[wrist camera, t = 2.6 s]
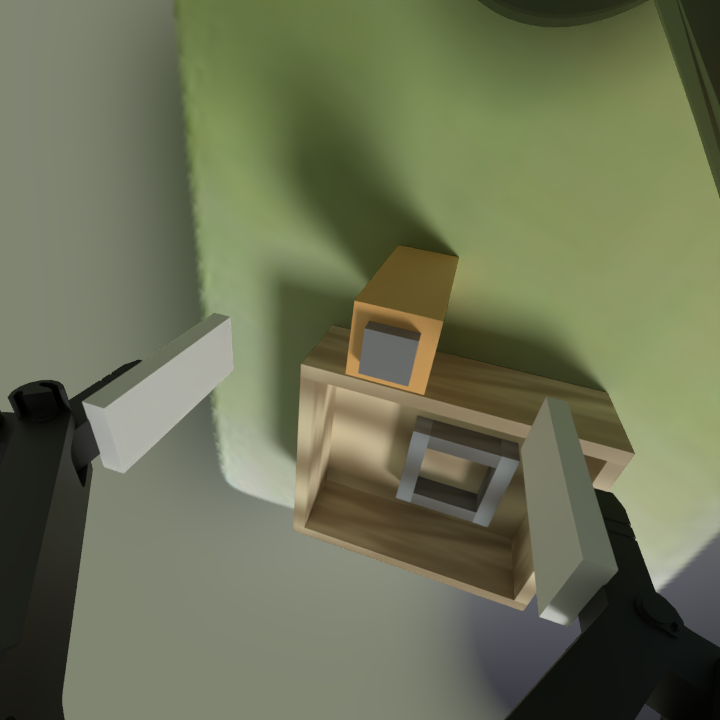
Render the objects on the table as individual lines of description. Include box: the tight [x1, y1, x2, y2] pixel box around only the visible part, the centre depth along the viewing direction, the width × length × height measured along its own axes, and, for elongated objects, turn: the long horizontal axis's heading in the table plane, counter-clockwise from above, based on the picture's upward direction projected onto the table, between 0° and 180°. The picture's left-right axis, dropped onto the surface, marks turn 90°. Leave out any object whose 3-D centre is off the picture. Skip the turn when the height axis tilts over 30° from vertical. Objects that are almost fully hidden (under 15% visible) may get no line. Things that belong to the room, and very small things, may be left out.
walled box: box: [294, 325, 635, 611], centre depth 31 cm, size 18×20×6 cm
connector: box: [346, 245, 459, 395], centre depth 22 cm, size 4×4×11 cm
